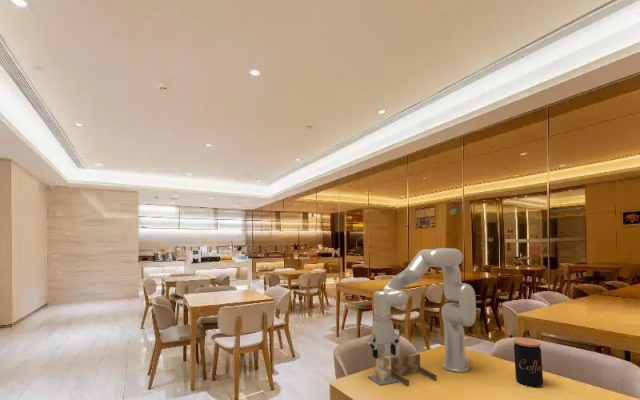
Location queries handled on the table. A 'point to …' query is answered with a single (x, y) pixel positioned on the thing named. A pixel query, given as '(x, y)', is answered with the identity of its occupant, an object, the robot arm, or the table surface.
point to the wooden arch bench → (408, 368)
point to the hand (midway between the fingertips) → (384, 356)
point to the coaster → (383, 381)
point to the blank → (383, 367)
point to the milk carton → (388, 350)
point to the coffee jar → (528, 362)
